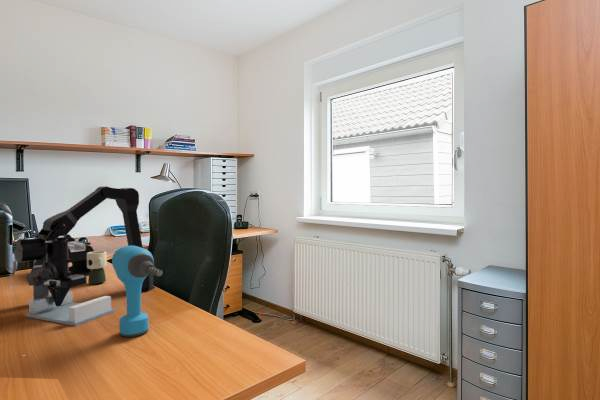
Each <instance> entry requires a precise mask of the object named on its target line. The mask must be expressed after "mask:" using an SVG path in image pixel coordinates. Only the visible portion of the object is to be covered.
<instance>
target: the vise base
mask: <svg viewBox="0 0 600 400" xmlns="http://www.w3.org/2000/svg"><path fill="white" fill-rule="evenodd" d="M115 312H116V309H115V308H112V296H109V295H104V296H99V297H97V298H94V299H90V300H87V301H84V302H74V301H73V303H69V304H66V305H63V306H60V307H56V308H53V309H50V310H47V311H43V312H40V313H37V314H31V313H29V312H25V317H28V318H33V319H37V320H38V319H39V320H42V321H47V322H54V323H58V324H63V325H68V326H74V327H78V326H80V325H82V324H85V323H88V322H91V321H93V320H95V319H98V318H101V317H103V316H106V315H108V314H113V313H115Z"/></svg>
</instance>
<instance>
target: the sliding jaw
mask: <svg viewBox="0 0 600 400" xmlns="http://www.w3.org/2000/svg"><path fill="white" fill-rule="evenodd" d="M73 299H74V297H73V290H70V289H69V291H68V293H67V295H66V296H65V298H64V300H63V302H62V304H61V306H63V305H66V304H69V303H73V302H74V301H73ZM56 307H60V306H56V305H55V302H54V300H53V297H52V295H51V293H49V295H47V296H43V297H39V298H35V299H34V298H32V299H29V300H28V313H31V314H37V313H40V312H43V311H47V310H50V309H53V308H56Z"/></svg>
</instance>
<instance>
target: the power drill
mask: <svg viewBox="0 0 600 400" xmlns="http://www.w3.org/2000/svg"><path fill="white" fill-rule="evenodd" d="M154 261H155V260H154V256H153V254H152V252H150V251H149V250H148V249H146V248H144V247H143V248H141V247H138V246H128V245H126V246H122V247H120V248H118V249H117V250H115V252H114V253H113V255H112V258H111V264H112V268H113V269H114V272H115V274H116V275H115V276H116V277H117V279H118V280H119V281H121V283H123V286H124V289H125V295H126V314H124V315H122V316H120V318H119V319H118V320H119V334H120V336H122V337H124V338H133V337H138V336H141V335H144V334H146V333H147V332H148V331H149V329H150V327H149V323H150V322H149V321H150V320H149V315H148V314H147V313H146V312H142V291H141V288H142V283H143V281H144V279H145V278H146V277H147V276H148V275H149V274H153V276H155V277H161V276H163V270H161V269H159V268H157V267H156V266H155V262H154Z"/></svg>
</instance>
